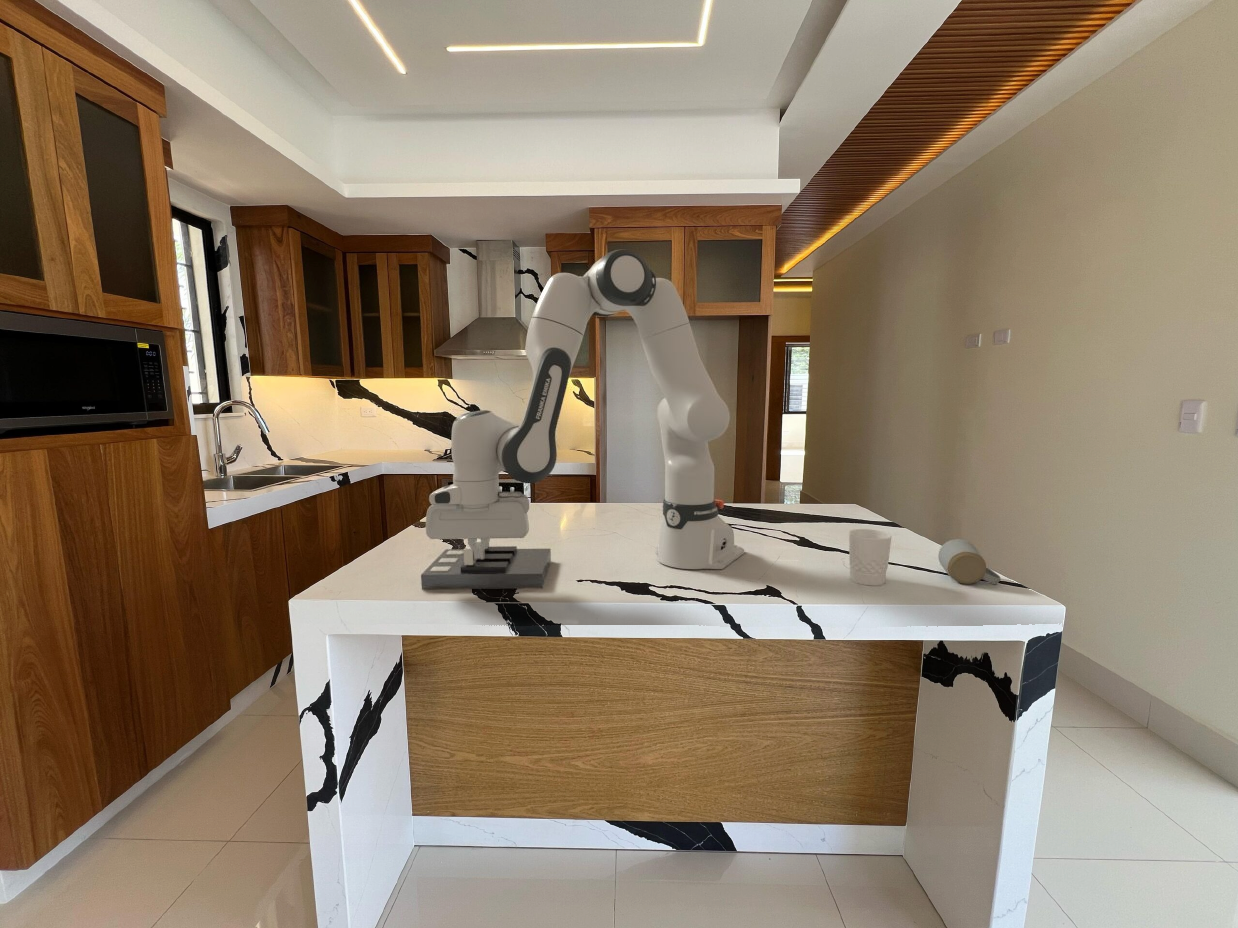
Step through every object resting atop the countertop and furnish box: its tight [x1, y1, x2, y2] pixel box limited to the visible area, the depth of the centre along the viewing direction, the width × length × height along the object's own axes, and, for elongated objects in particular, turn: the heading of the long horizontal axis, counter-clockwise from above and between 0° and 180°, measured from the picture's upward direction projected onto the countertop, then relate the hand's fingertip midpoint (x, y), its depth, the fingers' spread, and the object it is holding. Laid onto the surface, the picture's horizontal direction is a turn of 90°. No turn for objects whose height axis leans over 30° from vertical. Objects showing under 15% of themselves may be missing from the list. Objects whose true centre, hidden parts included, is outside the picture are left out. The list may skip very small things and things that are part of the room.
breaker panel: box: [420, 545, 552, 590], centre depth 119 cm, size 24×17×4 cm
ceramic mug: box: [937, 538, 1001, 585], centre depth 115 cm, size 11×8×8 cm
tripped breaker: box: [463, 546, 476, 565], centre depth 112 cm, size 2×2×3 cm
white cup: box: [848, 528, 892, 587], centre depth 114 cm, size 8×8×10 cm
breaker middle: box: [475, 539, 484, 549], centre depth 118 cm, size 2×2×3 cm
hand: (479, 558), depth 112 cm, fingers closed
